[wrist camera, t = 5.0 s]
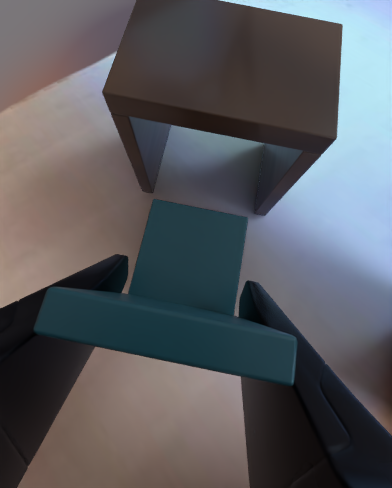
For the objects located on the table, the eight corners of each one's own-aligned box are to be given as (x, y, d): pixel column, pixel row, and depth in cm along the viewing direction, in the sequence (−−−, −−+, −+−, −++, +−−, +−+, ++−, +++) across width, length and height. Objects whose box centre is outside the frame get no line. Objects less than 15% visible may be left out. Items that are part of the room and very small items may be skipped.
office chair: (223, 324, 14) (333, 397, 4) (137, 306, 14) (-7, 327, 4) (236, 243, 16) (344, 120, 5) (157, 227, 16) (94, 72, 5)
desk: (265, 215, 16) (337, 138, 8) (141, 191, 16) (101, 92, 8) (274, 145, 18) (343, 23, 10) (161, 122, 18) (141, -16, 10)
